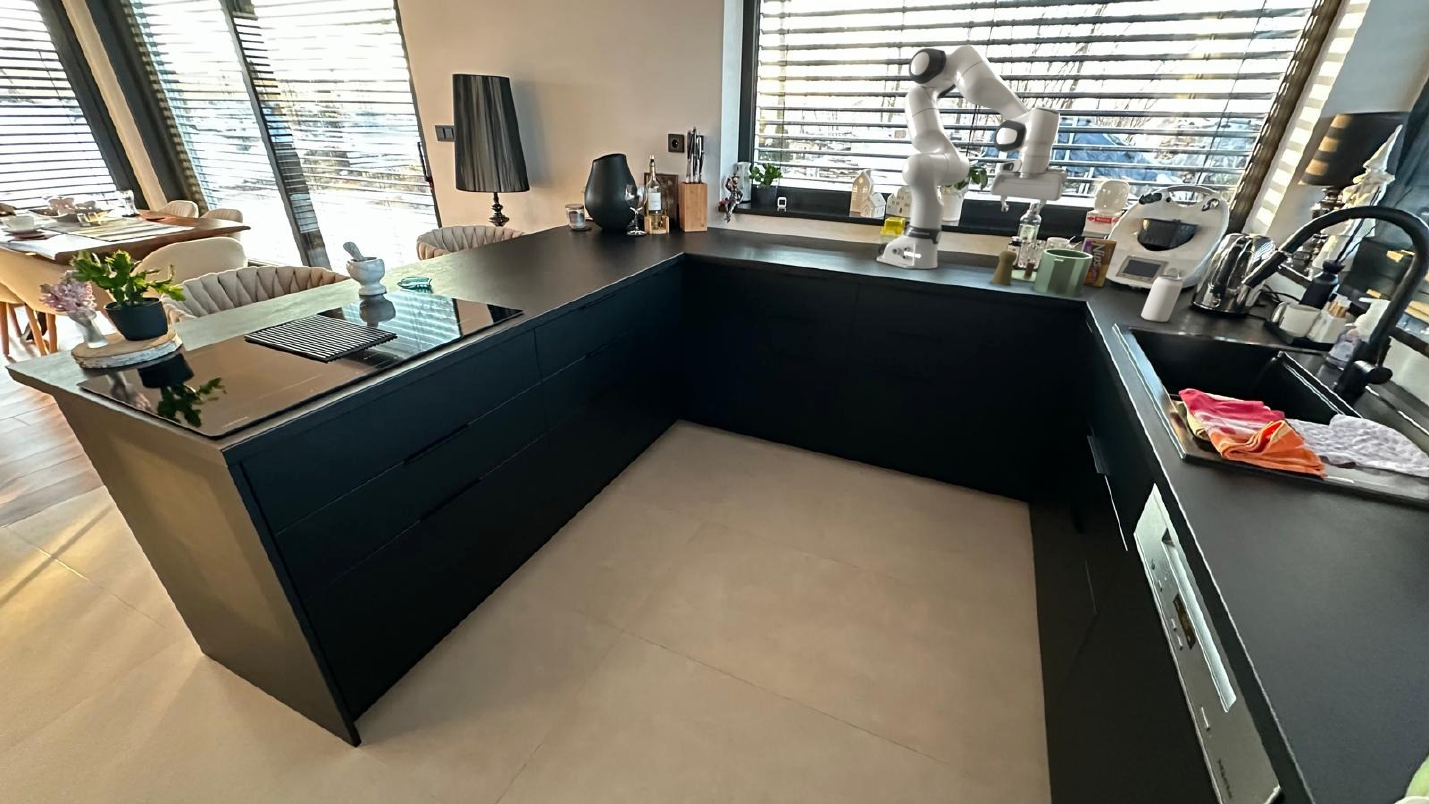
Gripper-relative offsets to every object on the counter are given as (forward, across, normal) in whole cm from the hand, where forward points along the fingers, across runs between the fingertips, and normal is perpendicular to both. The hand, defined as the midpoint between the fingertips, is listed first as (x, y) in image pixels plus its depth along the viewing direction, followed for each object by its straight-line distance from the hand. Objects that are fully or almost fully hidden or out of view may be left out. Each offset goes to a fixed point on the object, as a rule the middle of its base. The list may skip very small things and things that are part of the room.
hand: (1019, 212), depth 178 cm
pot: (+23, -16, -4) cm, 28 cm away
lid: (+23, -4, -15) cm, 27 cm away
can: (+24, -44, +5) cm, 50 cm away
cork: (+23, 0, 0) cm, 23 cm away
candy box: (+24, -21, -22) cm, 38 cm away
